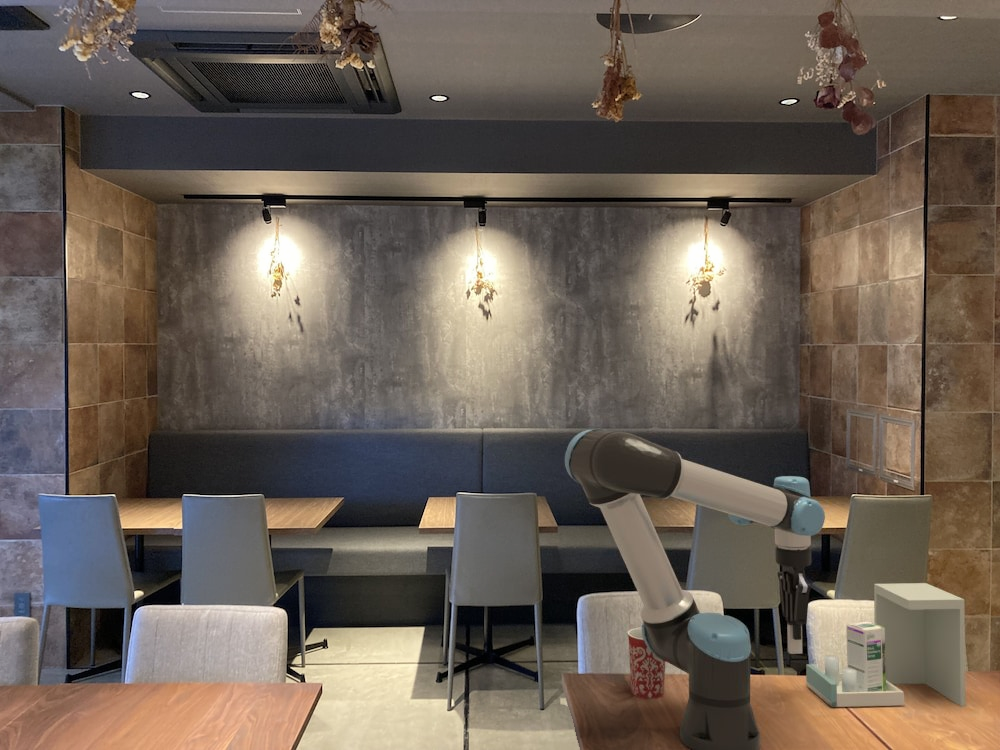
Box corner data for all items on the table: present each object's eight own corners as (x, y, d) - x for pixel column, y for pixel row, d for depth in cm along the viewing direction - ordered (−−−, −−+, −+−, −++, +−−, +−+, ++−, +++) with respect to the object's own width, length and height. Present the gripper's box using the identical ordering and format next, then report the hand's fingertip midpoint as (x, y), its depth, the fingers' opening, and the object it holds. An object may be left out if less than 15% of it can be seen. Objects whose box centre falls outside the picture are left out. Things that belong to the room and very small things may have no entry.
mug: (671, 700, 185) (670, 639, 186) (629, 700, 186) (629, 638, 186) (663, 680, 198) (662, 623, 198) (624, 679, 198) (624, 622, 199)
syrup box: (866, 696, 184) (865, 629, 184) (846, 687, 190) (845, 622, 190) (886, 692, 186) (886, 627, 186) (866, 683, 192) (865, 620, 192)
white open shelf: (909, 707, 181) (908, 600, 181) (874, 682, 196) (874, 583, 196) (965, 706, 182) (964, 599, 182) (926, 681, 197) (925, 583, 197)
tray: (831, 706, 181) (831, 674, 181) (806, 685, 194) (806, 654, 194) (904, 705, 182) (903, 672, 182) (874, 683, 195) (874, 653, 195)
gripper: (822, 552, 181) (824, 661, 181) (797, 540, 194) (799, 642, 194) (788, 552, 181) (790, 663, 181) (765, 541, 194) (767, 644, 194)
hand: (795, 652), depth 187 cm, fingers closed
